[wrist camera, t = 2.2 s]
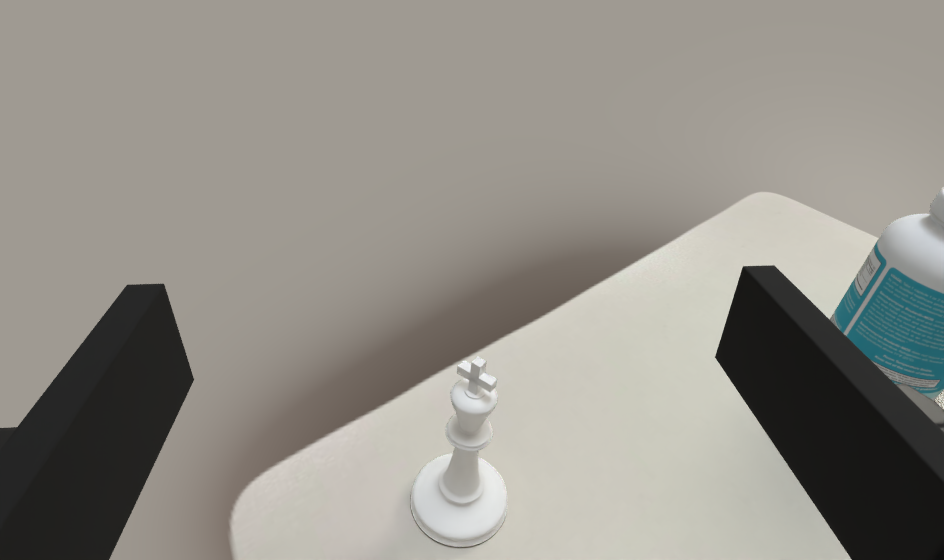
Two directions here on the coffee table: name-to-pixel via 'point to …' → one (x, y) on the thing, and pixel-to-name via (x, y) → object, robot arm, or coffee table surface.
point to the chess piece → (463, 469)
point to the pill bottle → (902, 302)
